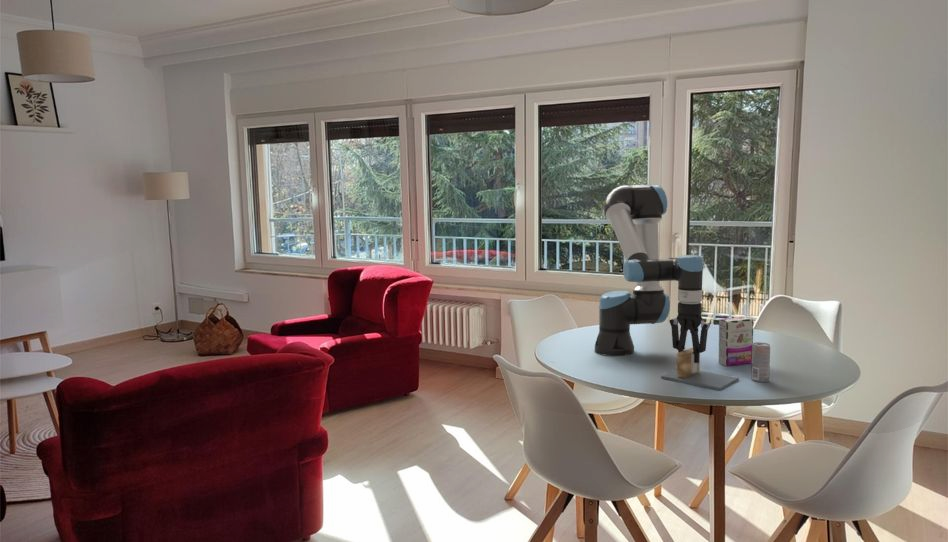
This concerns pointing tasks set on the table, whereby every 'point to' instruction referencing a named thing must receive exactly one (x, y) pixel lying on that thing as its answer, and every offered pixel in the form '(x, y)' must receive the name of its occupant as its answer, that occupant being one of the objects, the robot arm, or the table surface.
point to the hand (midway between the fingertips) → (688, 370)
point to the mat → (703, 379)
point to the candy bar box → (735, 341)
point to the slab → (685, 363)
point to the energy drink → (760, 362)
